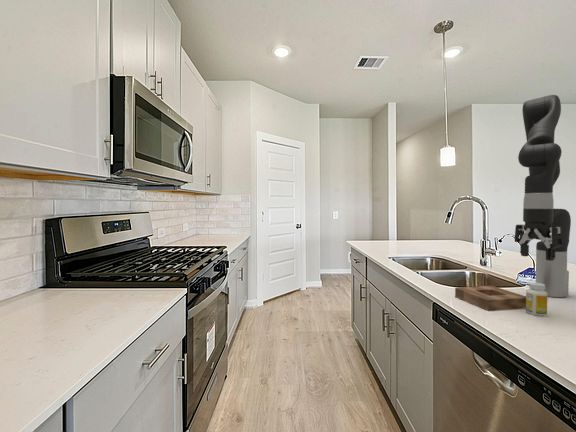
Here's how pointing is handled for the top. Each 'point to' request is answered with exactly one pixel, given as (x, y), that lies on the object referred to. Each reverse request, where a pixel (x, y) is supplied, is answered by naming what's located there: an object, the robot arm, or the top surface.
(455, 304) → the top surface
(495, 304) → the socket board
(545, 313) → the supplement bottle
